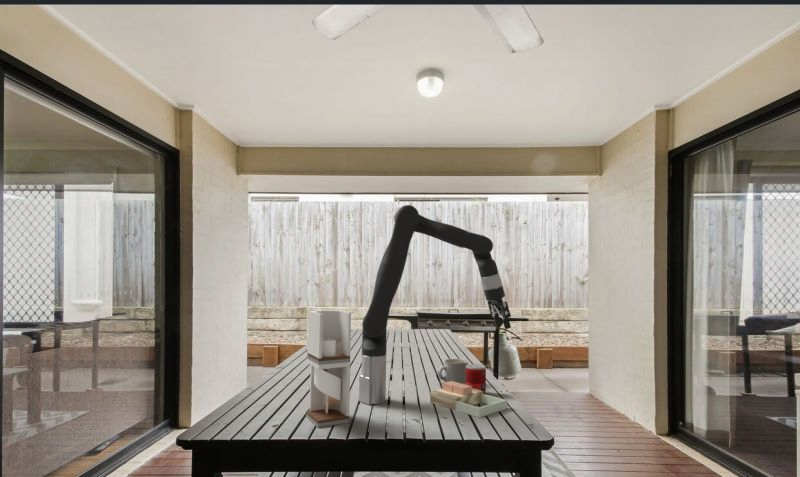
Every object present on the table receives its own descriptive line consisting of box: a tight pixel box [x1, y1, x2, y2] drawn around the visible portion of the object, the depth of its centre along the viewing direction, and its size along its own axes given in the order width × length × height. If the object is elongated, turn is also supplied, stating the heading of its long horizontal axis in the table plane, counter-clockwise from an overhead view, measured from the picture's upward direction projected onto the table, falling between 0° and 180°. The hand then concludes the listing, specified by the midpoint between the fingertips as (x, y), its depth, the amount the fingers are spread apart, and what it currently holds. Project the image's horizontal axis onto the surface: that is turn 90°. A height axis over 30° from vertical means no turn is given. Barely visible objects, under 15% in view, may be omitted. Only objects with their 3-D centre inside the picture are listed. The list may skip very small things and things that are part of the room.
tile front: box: [453, 384, 472, 395], centre depth 171 cm, size 5×5×2 cm
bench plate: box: [429, 388, 483, 411], centre depth 173 cm, size 16×12×4 cm
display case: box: [305, 309, 352, 428], centre depth 153 cm, size 11×11×35 cm
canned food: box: [466, 363, 487, 395], centre depth 186 cm, size 8×8×11 cm
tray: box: [454, 393, 508, 418], centre depth 165 cm, size 16×11×3 cm
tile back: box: [441, 381, 461, 392], centre depth 175 cm, size 5×5×2 cm
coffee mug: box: [437, 358, 469, 385], centre depth 200 cm, size 13×10×10 cm
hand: (503, 327), depth 180 cm, fingers open, 8 cm apart
